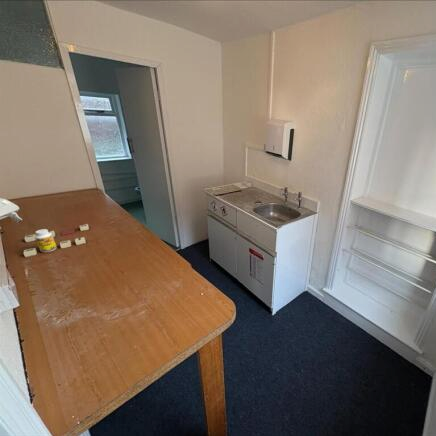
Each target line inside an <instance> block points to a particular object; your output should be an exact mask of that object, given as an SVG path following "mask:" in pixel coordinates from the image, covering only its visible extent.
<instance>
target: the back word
mask: <svg viewBox="0 0 436 436" xmlns="http://www.w3.org/2000/svg"><path fill="white" fill-rule="evenodd" d="M79 230H80V231H81V232H82V231H87V230H88V231H89V230H90V227H89V224H88V223H85V224H81V225H79ZM48 232H49V233H51V234H52V236H53V238H54V237H56V232H55V230H50V231H49V230H48ZM75 233H76V232H75V229H74V228H73V229H68V230H63V231H61V236H66V235H71V234H75ZM35 236H36V233H35V234H30V235H25V236H24V241H25V243H30V242H34V241H35V242H36V239H35Z"/></svg>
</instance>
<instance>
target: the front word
mask: <svg viewBox="0 0 436 436" xmlns="http://www.w3.org/2000/svg"><path fill="white" fill-rule="evenodd" d="M74 243H75V245H76V246H79V245H83V244H86V243H87V241H86V238H85V236H83V237H82V236H81V237H78V238H75V239H74ZM59 246H60V249H66V248H70V247H72V242H71V240H70V239H69V240H63V241H60V242H59ZM37 254H38V250H37V247H32V248H27V249H24V250H23V255H24V257H25V258H28V257H32V256H36V255H37Z"/></svg>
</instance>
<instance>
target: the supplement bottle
mask: <svg viewBox="0 0 436 436" xmlns="http://www.w3.org/2000/svg"><path fill="white" fill-rule="evenodd" d="M34 233H35V235H36V236H35V239H36V240H35V242H36V243H37V246H38V248H39V251H40V252H41V253H50V252H53V251H55V250H56V249H58V246H57V244H56V241H55V238H54V237H53V236H52V234H51V233H49V230H48V229H47V228H43V229H38V230H36V231H35V232H34Z"/></svg>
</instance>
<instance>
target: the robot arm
mask: <svg viewBox="0 0 436 436" xmlns="http://www.w3.org/2000/svg"><path fill="white" fill-rule="evenodd" d="M19 210H20V207H19V206H18V205H17V204H15V203H14V202H12V201H10V200H8V199H6V198H2V197H0V220H3V219H6V218H7V217H10V218H13V221H14V222H15V223H17V224H18V223H20V222H22V221H23V218H21V217H20V216H19V215H18V214H17V213H18V212H19ZM2 230H3V227H2V226H0V232H1V231H2Z"/></svg>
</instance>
